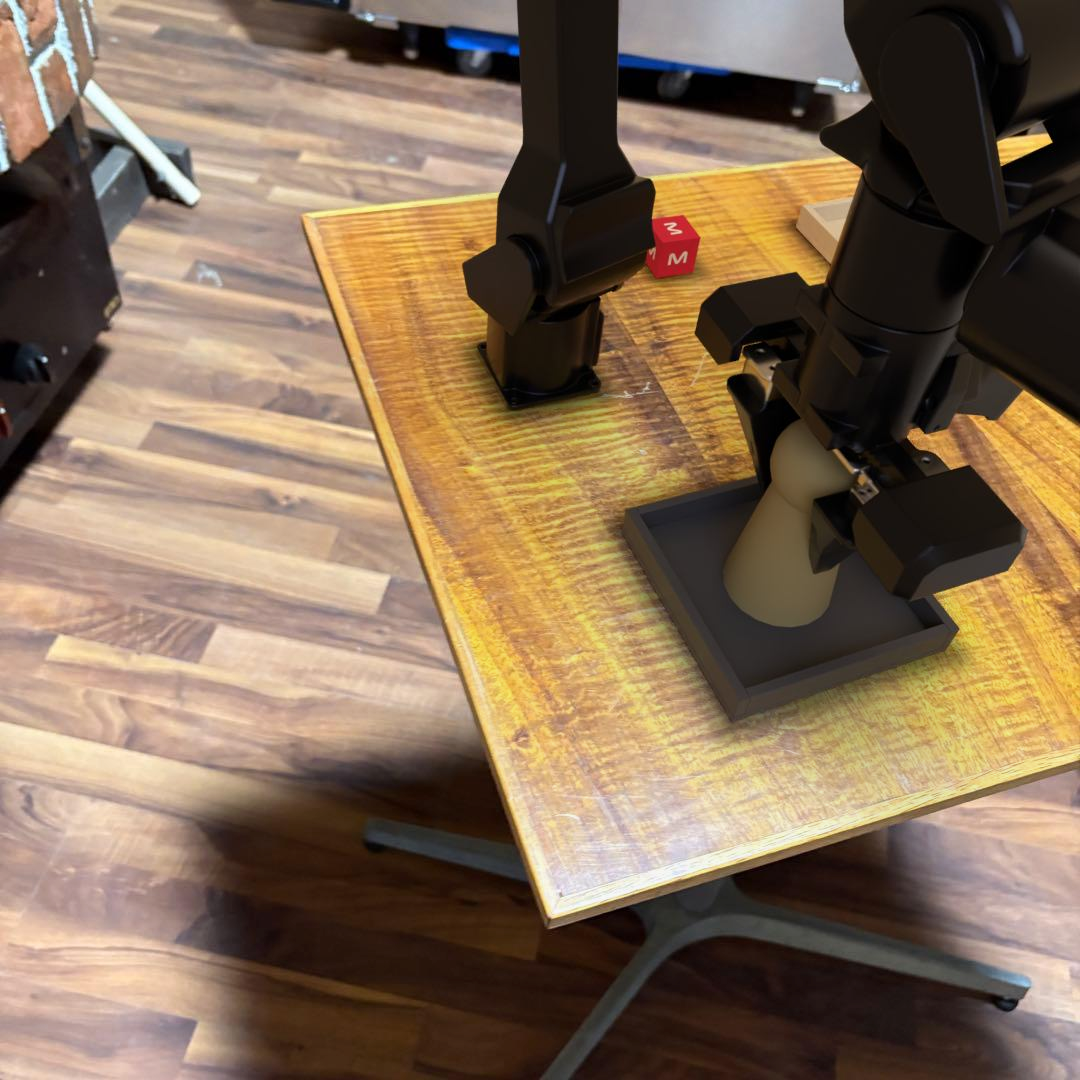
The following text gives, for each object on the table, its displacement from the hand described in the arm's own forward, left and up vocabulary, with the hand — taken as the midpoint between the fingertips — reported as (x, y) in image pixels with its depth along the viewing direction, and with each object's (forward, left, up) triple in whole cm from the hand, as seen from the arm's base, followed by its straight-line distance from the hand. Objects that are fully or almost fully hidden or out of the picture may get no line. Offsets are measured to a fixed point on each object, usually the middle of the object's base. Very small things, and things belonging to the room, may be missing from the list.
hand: (797, 537), depth 53 cm
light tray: (+26, +26, -4) cm, 37 cm away
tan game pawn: (0, 0, -4) cm, 4 cm away
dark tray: (0, 0, -4) cm, 4 cm away
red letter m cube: (+8, +29, -4) cm, 31 cm away
